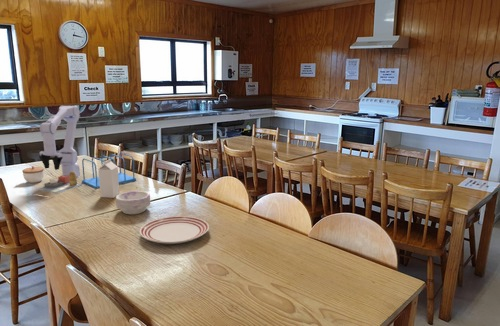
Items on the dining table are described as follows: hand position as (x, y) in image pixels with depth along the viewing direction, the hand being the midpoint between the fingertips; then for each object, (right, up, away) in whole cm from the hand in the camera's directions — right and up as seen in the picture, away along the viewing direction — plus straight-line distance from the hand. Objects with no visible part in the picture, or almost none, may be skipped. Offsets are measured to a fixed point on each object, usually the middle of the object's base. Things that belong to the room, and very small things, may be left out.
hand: (52, 168), depth 210 cm
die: (+3, -8, +8) cm, 12 cm away
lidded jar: (-16, -8, +11) cm, 21 cm away
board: (+5, -11, +1) cm, 12 cm away
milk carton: (+36, -14, -11) cm, 41 cm away
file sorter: (+27, -8, +13) cm, 31 cm away
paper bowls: (+55, -20, -32) cm, 67 cm away
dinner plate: (+80, -26, -57) cm, 101 cm away
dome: (0, -8, +2) cm, 9 cm away
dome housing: (0, -10, +2) cm, 11 cm away
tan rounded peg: (+10, -9, +5) cm, 14 cm away
